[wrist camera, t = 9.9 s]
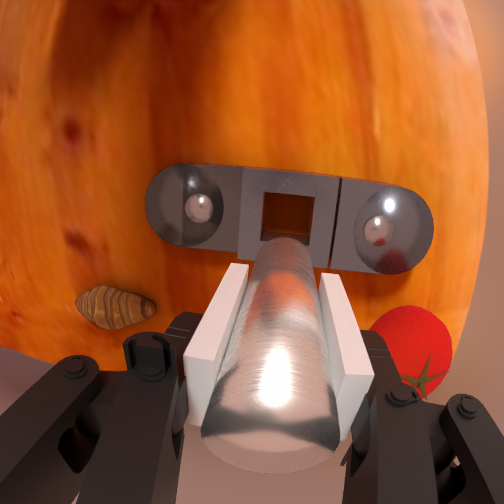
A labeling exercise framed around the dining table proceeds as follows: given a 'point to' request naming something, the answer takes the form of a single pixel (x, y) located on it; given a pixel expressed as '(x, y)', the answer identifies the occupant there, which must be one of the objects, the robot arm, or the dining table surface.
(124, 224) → the dining table surface
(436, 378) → the tomato
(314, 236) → the chain end
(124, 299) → the croissant
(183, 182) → the chain end
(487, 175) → the dining table surface
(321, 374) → the steel pin
